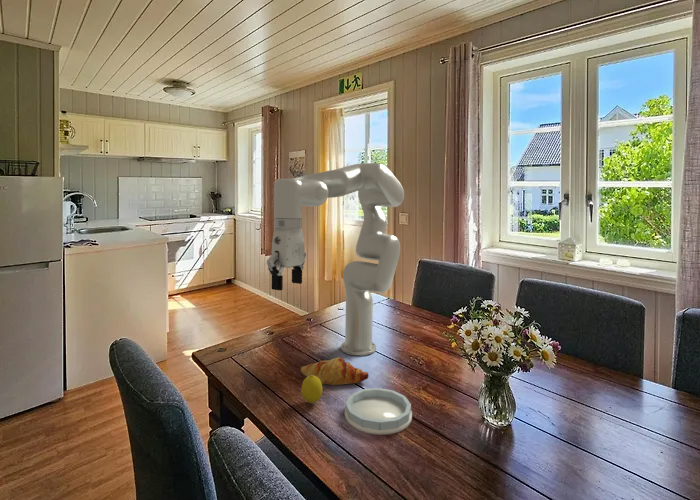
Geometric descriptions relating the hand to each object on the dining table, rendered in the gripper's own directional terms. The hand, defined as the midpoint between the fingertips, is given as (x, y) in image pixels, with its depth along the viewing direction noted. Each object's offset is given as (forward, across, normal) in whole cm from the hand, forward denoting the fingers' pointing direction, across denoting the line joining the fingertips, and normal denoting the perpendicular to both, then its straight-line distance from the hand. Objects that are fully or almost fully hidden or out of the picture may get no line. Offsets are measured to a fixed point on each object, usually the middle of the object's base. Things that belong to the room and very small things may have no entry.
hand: (287, 286), depth 113 cm
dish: (+30, -2, -29) cm, 41 cm away
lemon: (+30, -4, -11) cm, 32 cm away
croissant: (+30, +11, -10) cm, 33 cm away
